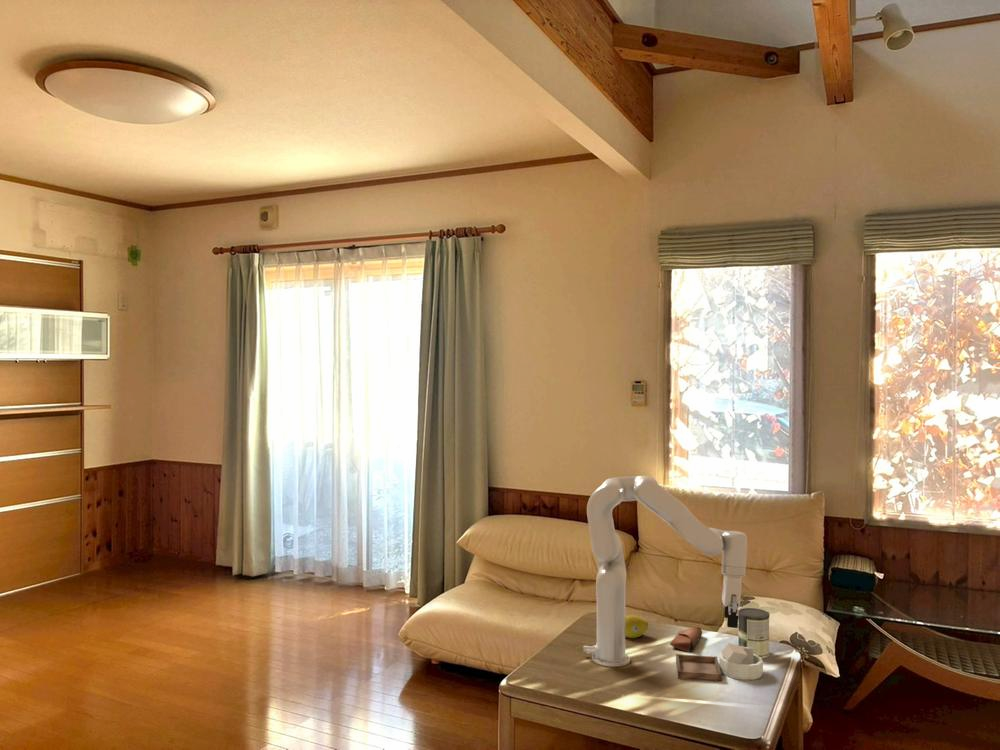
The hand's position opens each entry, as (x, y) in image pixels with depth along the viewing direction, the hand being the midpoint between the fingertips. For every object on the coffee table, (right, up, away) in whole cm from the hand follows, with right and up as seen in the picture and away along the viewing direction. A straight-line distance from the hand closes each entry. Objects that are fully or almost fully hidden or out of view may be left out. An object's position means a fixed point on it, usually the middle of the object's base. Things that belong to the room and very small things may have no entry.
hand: (730, 622), depth 245 cm
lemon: (-26, -16, +30) cm, 43 cm away
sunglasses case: (-10, -16, +25) cm, 31 cm away
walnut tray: (-11, -15, -1) cm, 19 cm away
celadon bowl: (+3, -15, -2) cm, 16 cm away
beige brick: (+3, -10, -2) cm, 10 cm away
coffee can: (+12, -16, +15) cm, 25 cm away
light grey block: (+5, -14, -1) cm, 15 cm away
